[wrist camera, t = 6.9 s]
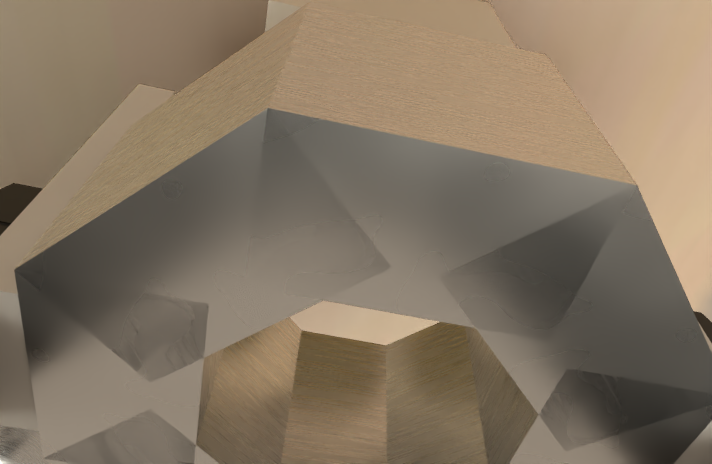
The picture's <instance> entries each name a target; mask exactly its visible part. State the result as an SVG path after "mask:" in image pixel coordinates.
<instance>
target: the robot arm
mask: <svg viewBox="0 0 712 464" xmlns="http://www.w3.org/2000/svg"><path fill="white" fill-rule="evenodd" d="M174 95H175V91H171V90H166V89H162V88H157V87H152V86H147V85H142V84H138V85H137V86H136V88H135V89H134V90H133V91H132V92H131V93H130V94H129V95H128V96H127V97H126V98H125V100H124V101H123V102H122V103H121V104H120V105H119V106H118V107H117V108H116V109H115V111H114V112H113V113H112V114H111V115H110V116H109V117H108V118H107V119H106V120H105V122H104V123H103V124H102V125H101V126H100V127H99V128H98V129H97V130H96V131H95V132H94V134H93V135H92V136H91V137H90V138H89V139H88V140H87V141H86V142H85V143H84V145H83V146H82V147H81V148H80V149H79V150H78V151H77V152H76V153H75V154H74V155H73V157H72V158H71V159H70V160H69V161H68V162H67V163H66V164H65V165H64V166H63V168H62V169H61V170H60V171H59V172H58V173H57V174H56V175H55V176H54V177H53V179H52V180H51V181H50V182H49V183H48V184H47V185H46V186H45V187H44V188H43V189H41V188H36V187H31V186H25V185H20V184H15V183H13V184H11V185H9V186H7V187H4V188H2V189H0V425H2V426H8V427H14V428H21V429H27V430H34V431H39V429H38V422H37V416H36V409H35V403H34V396H33V390H32V383H31V377H30V370H29V364H28V357H27V351H26V344H25V338H24V331H23V324H22V318H21V311H20V305H19V298H18V292H17V285H16V279H15V272H14V269H15V267H16V266H17V265H18V264H19V263H20V261H21V260H22V259H23V258H24V256H25V255H26V254H27V253H28V252H29V250H30V249H31V248H32V247H33V245H34V244H35V243H36V242H37V240H38V239H39V238H40V237H41V236H42V234H43V233H44V232H45V231H46V229H47V228H48V227H49V226H50V224H51V223H52V222H53V221H54V220H55V218H56V217H57V216H58V215H59V213H60V212H61V211H62V210H63V209H64V207H65V206H66V205H67V204H68V202H69V201H70V200H71V199H72V197H73V196H74V195H75V194H76V193H77V191H78V190H79V189H80V188H81V186H82V185H83V184H84V183H85V181H86V180H87V179H88V178H89V177H90V175H91V174H92V173H93V172H94V170H95V169H96V168H97V167H98V166H99V164H100V163H101V162H102V161H103V159H104V158H105V157H106V156H107V154H108V153H109V152H110V151H111V150H112V148H113V147H114V146H115V145H116V143H117V142H118V141H119V140H120V138H121V137H122V136H123V135H124V134H125V132H126V131H127V130H128V129H129V127H130V126H131V125H132V124H133V123H135V122H136V121H138V120H139V119H140V118H142V117H143V116H145V115H146V114H148V113H149V112H151V111H152V110H153V109H155V108H156V107H158V106H159V105H161V104H162V103H164V102H165V101H167V100H168V99H169V98H171V97H172V96H174ZM693 312H694V311H693ZM694 314H695V317H696V319H697V321H698V323H699V325H700V328H701V330H702V332H703V334H704V337H705V339H706V341H707V343H708V346H709V348H710V350H711V352H712V322H711V321H710V320H709V319H708V318H706V317H705V316H704V315H703V314H702V313H699V312H694ZM674 464H712V421H711V422H710V423H709V424H708V425H707V427H706V428H705V429H704V430H703V431H702V432H701V433H700V435H699V436H698V437H697V438H696V439H695V440H694V441H693V443H692V444H691V445H690V446H689V447H688V448H687V449H686V451H685V452H684V453H683V454H682V455H681V456H680V457H679V459H678V460H677V461H676V462H675V463H674Z"/></svg>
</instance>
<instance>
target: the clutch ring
mask: <svg viewBox="0 0 712 464" xmlns="http://www.w3.org/2000/svg"><path fill="white" fill-rule="evenodd" d="M14 272H15V279H16V285H17V292H18V298H19V305H20V311H21V318H22V324H23V331H24V338H25V344H26V351H27V357H28V364H29V370H30V377H31V383H32V390H33V396H34V403H35V409H36V416H37V422H38V429H39V435H40V442H41V448H42V455H43V459H45V460H46V461H48V462H49V463H51V464H674V463H675V462H676V461H677V460H678V459H679V457H680V456H681V455H682V454H683V453H684V452H685V451H686V449H687V448H688V447H689V446H690V445H691V444H692V443H693V441H694V440H695V439H696V438H697V437H698V436H699V435H700V433H701V432H702V431H703V430H704V429H705V428H706V427H707V425H708V424H709V423H710V422H711V421H712V352H711V350H710V348H709V346H708V343H707V341H706V339H705V337H704V334H703V332H702V330H701V328H700V325H699V323H698V321H697V319H696V317H695V314H694V312H693V310H692V308H691V305H690V303H689V301H688V299H687V296H686V294H685V292H684V290H683V287H682V285H681V283H680V281H679V278H678V276H677V274H676V272H675V269H674V267H673V265H672V263H671V260H670V258H669V256H668V254H667V252H666V249H665V247H664V245H663V243H662V240H661V238H660V236H659V234H658V231H657V229H656V227H655V225H654V222H653V220H652V218H651V216H650V213H649V211H648V209H647V207H646V204H645V202H644V200H643V198H642V195H641V193H640V191H639V189H638V185H637V184H636V182H635V181H634V179H633V178H632V177H631V175H630V174H629V172H628V171H627V169H626V168H625V167H624V165H623V164H622V162H621V161H620V159H619V158H618V157H617V155H616V154H615V152H614V151H613V149H612V148H611V146H610V145H609V144H608V142H607V141H606V139H605V138H604V136H603V135H602V134H601V132H600V131H599V129H598V128H597V126H596V125H595V123H594V122H593V121H592V119H591V118H590V116H589V115H588V113H587V112H586V111H585V109H584V108H583V106H582V105H581V103H580V102H579V100H578V99H577V98H576V96H575V95H574V93H573V92H572V90H571V89H570V88H569V86H568V85H567V83H566V82H565V80H564V79H563V78H562V76H561V75H560V73H559V72H558V70H557V69H556V67H555V66H554V65H553V63H552V62H551V60H550V59H549V57H548V56H547V55H545V54H540V53H536V52H531V51H527V50H523V49H518V48H514V47H509V46H505V45H501V44H496V43H492V42H487V41H483V40H479V39H474V38H470V37H465V36H461V35H457V34H452V33H448V32H443V31H439V30H435V29H430V28H426V27H421V26H417V25H413V24H408V23H404V22H399V21H395V20H391V19H386V18H382V17H377V16H373V15H369V14H364V13H360V12H355V11H351V10H347V9H342V8H338V7H333V6H329V5H325V4H320V3H316V2H311V1H309V2H308V3H307V4H305V5H304V6H302V7H301V8H299V9H298V10H297V11H295V12H294V13H292V14H291V15H289V16H288V17H286V18H285V19H284V20H282V21H281V22H279V23H278V24H276V25H275V26H273V27H272V28H271V29H269V30H268V31H266V32H265V33H263V34H262V35H260V36H259V37H258V38H256V39H255V40H253V41H252V42H250V43H249V44H247V45H246V46H245V47H243V48H242V49H240V50H239V51H237V52H236V53H234V54H233V55H232V56H230V57H229V58H227V59H226V60H224V61H223V62H221V63H220V64H219V65H217V66H216V67H214V68H213V69H211V70H210V71H208V72H207V73H206V74H204V75H203V76H201V77H200V78H198V79H197V80H195V81H194V82H193V83H191V84H190V85H188V86H187V87H185V88H184V89H182V90H181V91H180V92H178V93H177V94H175V95H174V96H172V97H171V98H169V99H168V100H167V101H165V102H164V103H162V104H161V105H159V106H158V107H156V108H155V109H153V110H152V111H151V112H149V113H148V114H146V115H145V116H143V117H142V118H140V119H139V120H138V121H136V122H135V123H133V124H132V125H131V126H130V127H129V129H128V130H127V131H126V132H125V134H124V135H123V136H122V137H121V138H120V140H119V141H118V142H117V143H116V145H115V146H114V147H113V148H112V150H111V151H110V152H109V153H108V154H107V156H106V157H105V158H104V159H103V161H102V162H101V163H100V164H99V166H98V167H97V168H96V169H95V170H94V172H93V173H92V174H91V175H90V177H89V178H88V179H87V180H86V181H85V183H84V184H83V185H82V186H81V188H80V189H79V190H78V191H77V193H76V194H75V195H74V196H73V197H72V199H71V200H70V201H69V202H68V204H67V205H66V206H65V207H64V209H63V210H62V211H61V212H60V213H59V215H58V216H57V217H56V218H55V220H54V221H53V222H52V223H51V224H50V226H49V227H48V228H47V229H46V231H45V232H44V233H43V234H42V236H41V237H40V238H39V239H38V240H37V242H36V243H35V244H34V245H33V247H32V248H31V249H30V250H29V252H28V253H27V254H26V255H25V256H24V258H23V259H22V260H21V261H20V263H19V264H18V265H17V266H16V267H15V269H14ZM323 300H324V301H330V302H335V303H341V304H346V305H352V306H357V307H363V308H368V309H374V310H379V311H385V312H390V313H395V314H401V315H406V316H412V317H417V318H423V319H428V320H434V321H439V323H437V324H435V325H433V326H430V327H428V328H426V329H423V330H421V331H419V332H416V333H414V334H412V335H409V336H407V337H405V338H402V339H400V340H398V341H395V342H393V343H391V344H388V345H380V344H374V343H369V342H363V341H357V340H352V339H346V338H340V337H335V336H329V335H324V334H318V333H312V332H307V331H301V329H300V328H299V327H298V326H297V325H296V324H295V323H294V322H293V321H292V320H291V319H290V318H289V317H290V316H292V315H294V314H296V313H298V312H300V311H302V310H304V309H307V308H309V307H311V306H313V305H315V304H317V303H319V302H321V301H323Z"/></svg>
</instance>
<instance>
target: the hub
mask: <svg viewBox="0 0 712 464" xmlns="http://www.w3.org/2000/svg"><path fill="white" fill-rule="evenodd" d="M309 1H311V2H316V3H320V4H325V5H329V6H333V7H338V8H342V9H347V10H351V11H355V12H360V13H364V14H369V15H373V16H377V17H382V18H386V19H391V20H395V21H399V22H404V23H408V24H413V25H417V26H421V27H426V28H430V29H435V30H439V31H443V32H448V33H452V34H457V35H461V36H465V37H470V38H474V39H479V40H483V41H487V42H492V43H496V44H501V45H505V46H509V47H514V48H516V47H515V45H514V44H513V42H512V40H511V39H510V37H509V35H508V34H507V32H506V30H505V28H504V27H503V25H502V23H501V22H500V20H499V18H498V17H497V15H496V13H495V11H494V10H493V8H492V6H491V5H490V3H489V2H484V1H480V0H269V1H268V9H267V17H266V25H265V32H266V31H268V30H269V29H271V28H272V27H273V26H275V25H276V24H278V23H279V22H281V21H282V20H284V19H285V18H286V17H288V16H289V15H291V14H292V13H294V12H295V11H297V10H298V9H299V8H301V7H302V6H304V5H305V4H307V3H308V2H309Z"/></svg>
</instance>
